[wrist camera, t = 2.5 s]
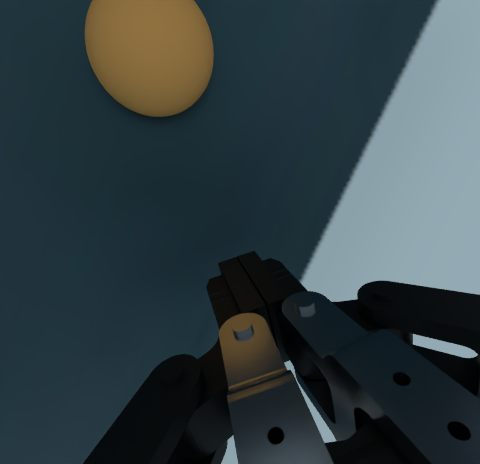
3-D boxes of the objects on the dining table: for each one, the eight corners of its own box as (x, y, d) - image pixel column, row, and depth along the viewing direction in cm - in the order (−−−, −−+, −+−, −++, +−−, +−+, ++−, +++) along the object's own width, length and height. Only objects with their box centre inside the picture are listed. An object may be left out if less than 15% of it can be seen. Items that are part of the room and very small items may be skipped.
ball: (120, 129, 18) (107, 129, 13) (78, 13, 16) (39, -49, 10) (214, 106, 19) (239, 96, 14) (187, -6, 17) (204, -71, 11)
